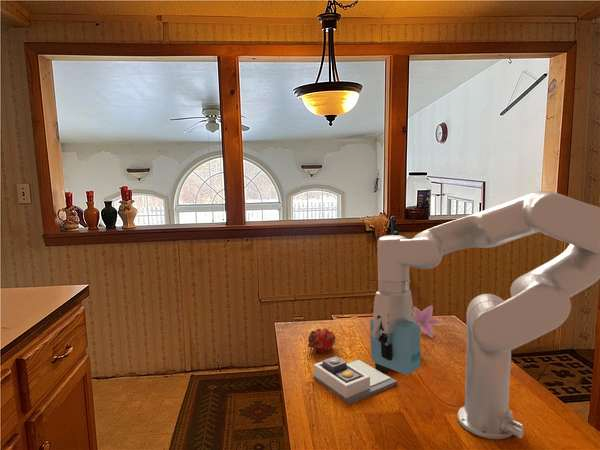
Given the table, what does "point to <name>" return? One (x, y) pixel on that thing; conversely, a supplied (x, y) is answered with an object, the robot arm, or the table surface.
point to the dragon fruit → (321, 340)
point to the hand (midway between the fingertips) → (395, 354)
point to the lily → (425, 320)
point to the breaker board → (356, 389)
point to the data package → (400, 348)
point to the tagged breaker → (347, 375)
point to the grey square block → (334, 365)
